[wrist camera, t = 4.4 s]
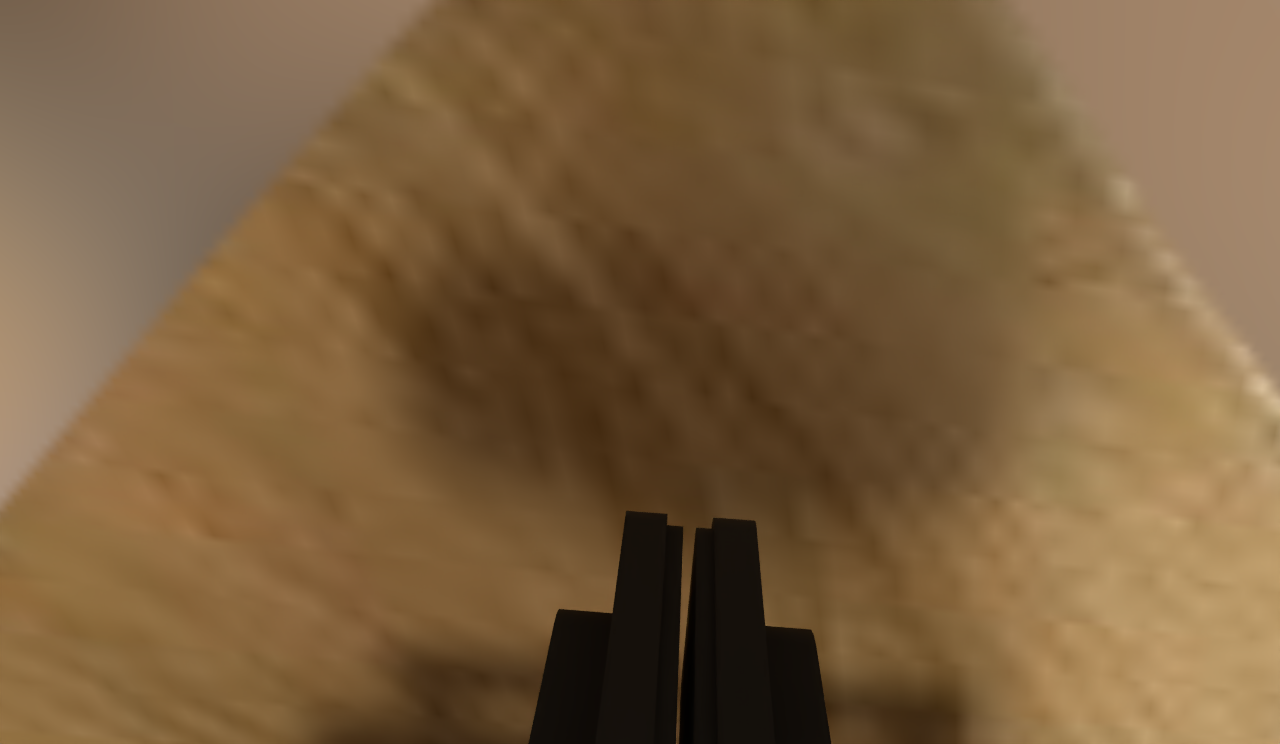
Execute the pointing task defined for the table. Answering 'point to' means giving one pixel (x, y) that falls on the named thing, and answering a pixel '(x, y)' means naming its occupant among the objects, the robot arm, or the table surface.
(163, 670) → the table surface
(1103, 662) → the table surface
